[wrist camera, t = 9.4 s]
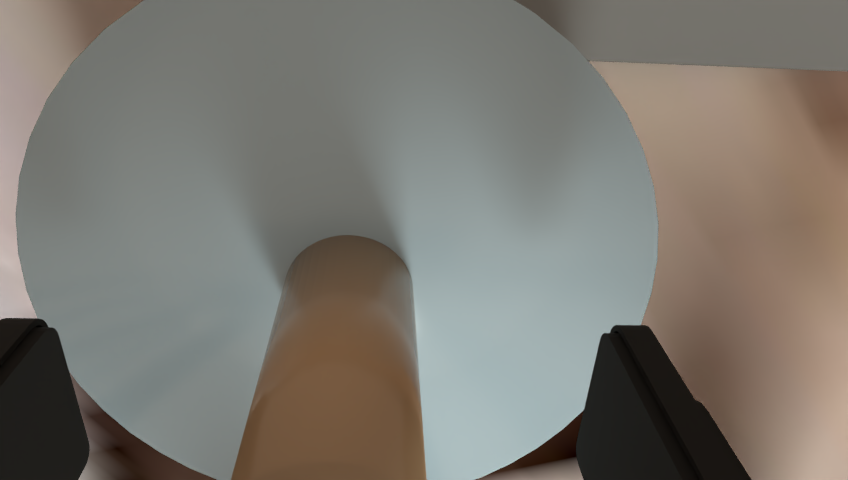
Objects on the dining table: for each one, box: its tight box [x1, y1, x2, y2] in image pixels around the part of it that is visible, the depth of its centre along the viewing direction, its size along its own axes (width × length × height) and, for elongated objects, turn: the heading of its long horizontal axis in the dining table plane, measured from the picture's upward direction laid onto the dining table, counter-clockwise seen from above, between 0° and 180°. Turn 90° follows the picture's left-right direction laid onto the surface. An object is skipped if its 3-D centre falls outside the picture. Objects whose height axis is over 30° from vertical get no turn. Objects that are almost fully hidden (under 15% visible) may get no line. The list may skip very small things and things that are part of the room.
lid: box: [16, 0, 658, 480], centre depth 11 cm, size 14×14×7 cm
